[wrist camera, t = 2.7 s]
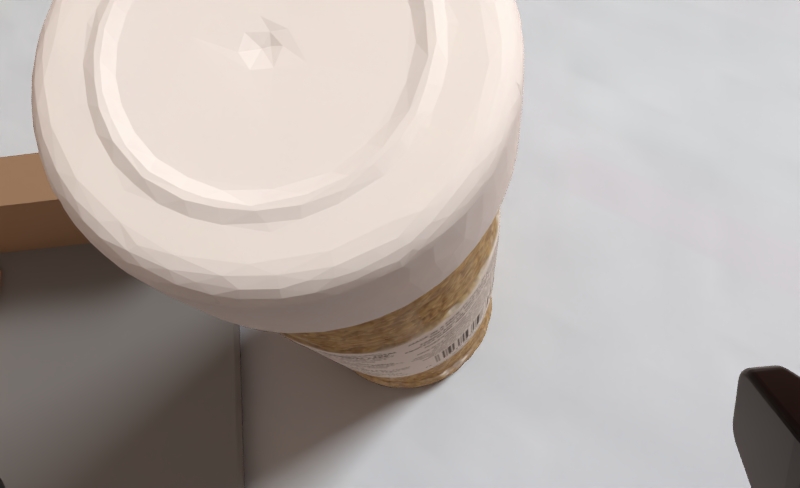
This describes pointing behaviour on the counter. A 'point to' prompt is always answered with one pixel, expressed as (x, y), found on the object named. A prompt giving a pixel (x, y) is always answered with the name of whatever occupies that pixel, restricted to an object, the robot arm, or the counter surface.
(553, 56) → the counter surface
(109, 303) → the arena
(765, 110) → the counter surface
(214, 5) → the sprinkles bottle
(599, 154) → the counter surface
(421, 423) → the counter surface
